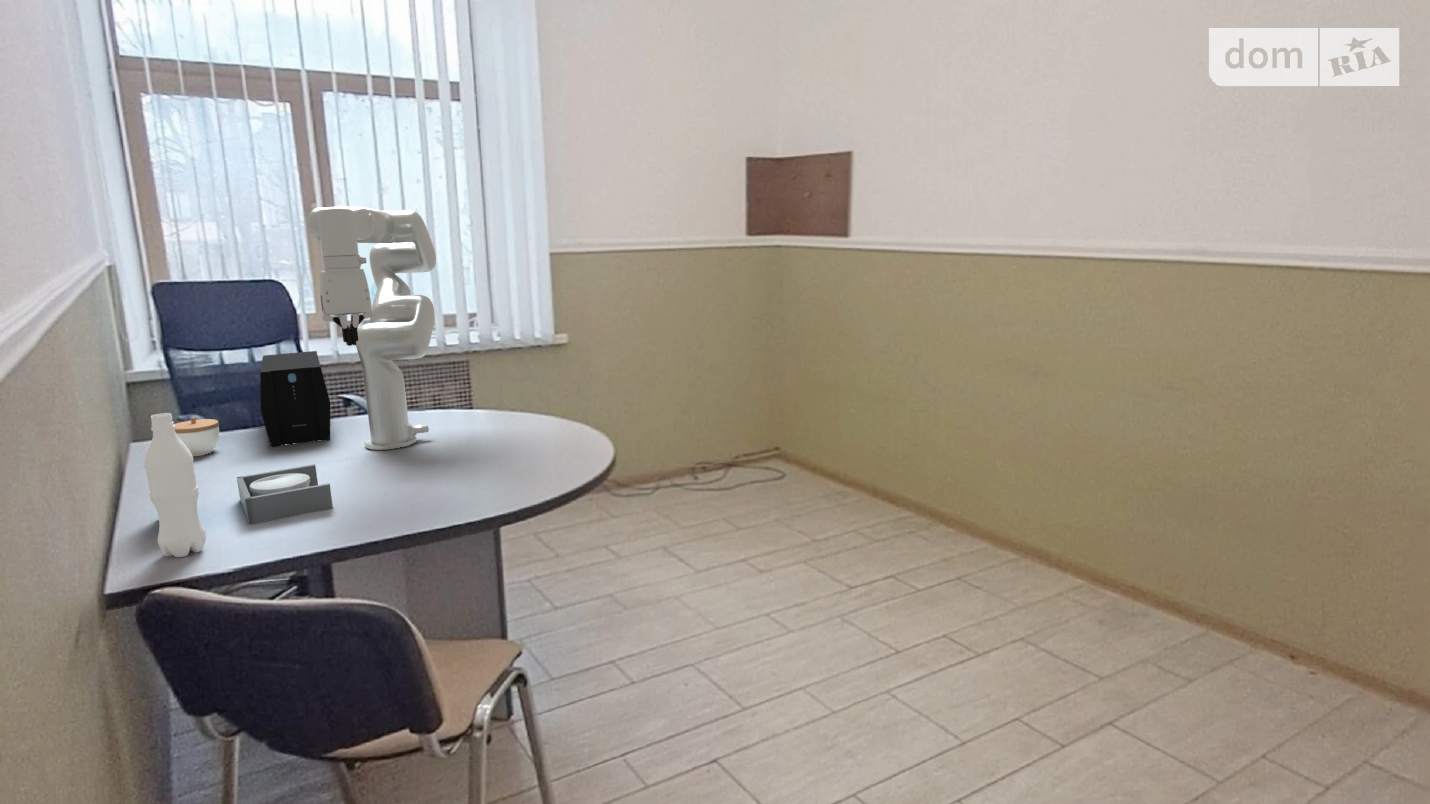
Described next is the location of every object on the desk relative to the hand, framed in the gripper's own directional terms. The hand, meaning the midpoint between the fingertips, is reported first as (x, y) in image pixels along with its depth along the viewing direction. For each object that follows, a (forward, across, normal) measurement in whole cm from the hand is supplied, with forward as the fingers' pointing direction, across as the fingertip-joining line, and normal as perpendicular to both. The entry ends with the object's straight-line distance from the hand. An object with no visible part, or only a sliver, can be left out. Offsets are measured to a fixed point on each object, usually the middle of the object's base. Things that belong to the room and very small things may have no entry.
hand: (351, 344), depth 193 cm
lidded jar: (+29, +32, -41) cm, 60 cm away
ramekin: (+29, +20, +18) cm, 40 cm away
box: (+29, +19, +18) cm, 39 cm away
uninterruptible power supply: (+29, +7, -51) cm, 59 cm away
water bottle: (+29, +38, +36) cm, 60 cm away
